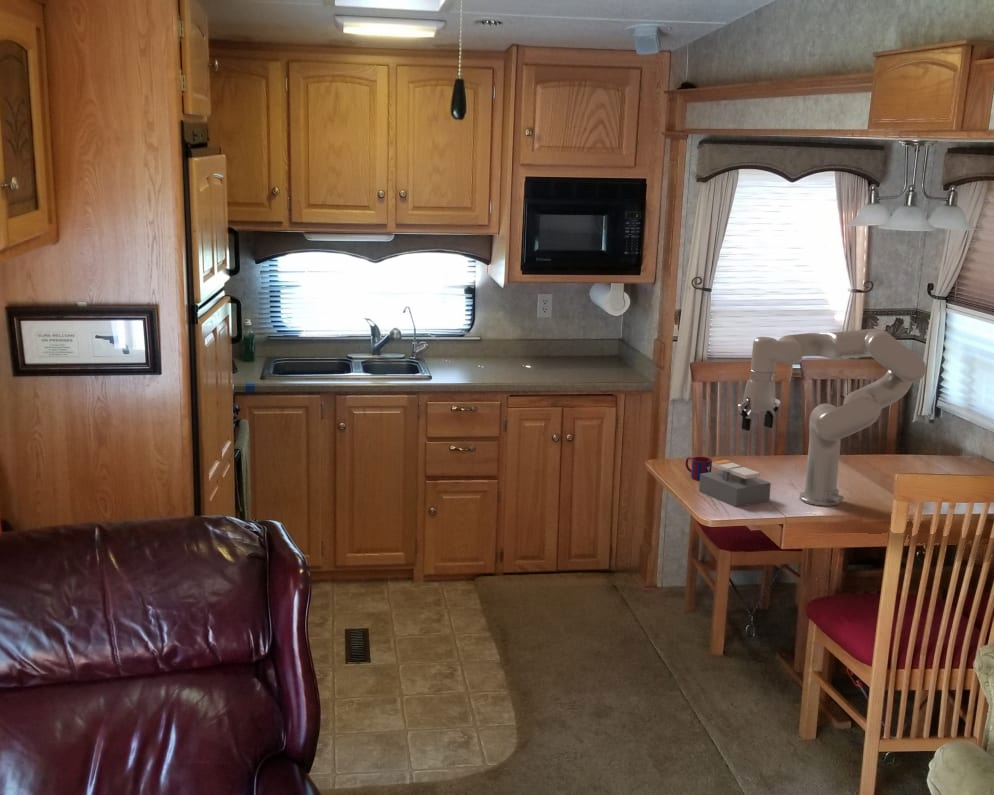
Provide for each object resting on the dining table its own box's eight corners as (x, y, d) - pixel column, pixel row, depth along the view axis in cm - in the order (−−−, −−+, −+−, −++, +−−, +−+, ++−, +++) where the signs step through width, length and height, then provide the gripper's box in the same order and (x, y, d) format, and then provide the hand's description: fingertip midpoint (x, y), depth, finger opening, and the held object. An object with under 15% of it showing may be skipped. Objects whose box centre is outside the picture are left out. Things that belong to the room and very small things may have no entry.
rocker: (759, 477, 327) (759, 472, 326) (745, 479, 324) (745, 474, 323) (726, 464, 340) (726, 459, 340) (711, 466, 337) (712, 461, 337)
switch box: (769, 500, 329) (771, 473, 327) (735, 507, 323) (737, 479, 321) (731, 485, 345) (733, 459, 343) (699, 491, 338) (700, 465, 336)
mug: (701, 482, 348) (702, 463, 347) (680, 474, 356) (681, 456, 355) (714, 479, 352) (716, 460, 350) (694, 472, 360) (695, 453, 358)
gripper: (773, 372, 332) (768, 423, 336) (733, 375, 323) (728, 428, 327) (790, 376, 326) (785, 428, 330) (750, 380, 317) (745, 433, 321)
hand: (756, 428), depth 328 cm, fingers open, 9 cm apart
